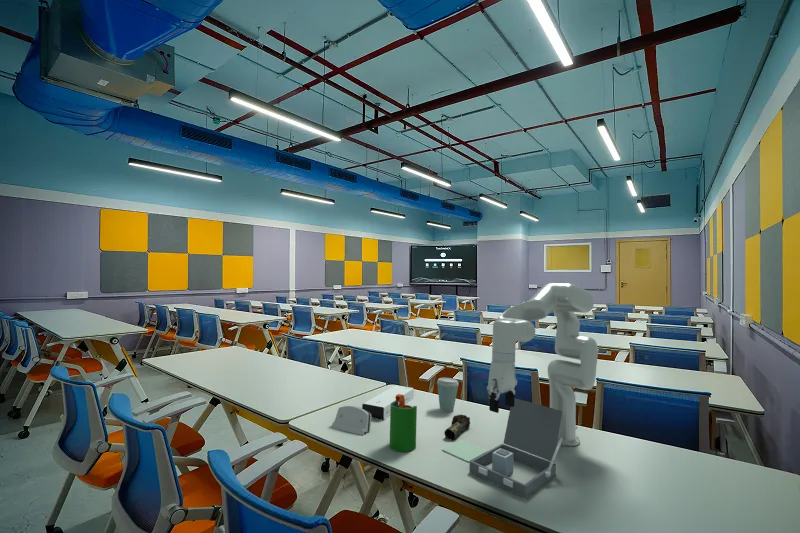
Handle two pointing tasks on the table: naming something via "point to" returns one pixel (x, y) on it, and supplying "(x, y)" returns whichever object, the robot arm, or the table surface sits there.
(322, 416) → the table surface
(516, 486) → the case
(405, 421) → the motor
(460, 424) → the brown rough-headed cylinder
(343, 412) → the hinge
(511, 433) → the lid
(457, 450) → the mat
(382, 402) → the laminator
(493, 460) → the module
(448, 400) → the disposable coffee cup
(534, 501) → the table surface
